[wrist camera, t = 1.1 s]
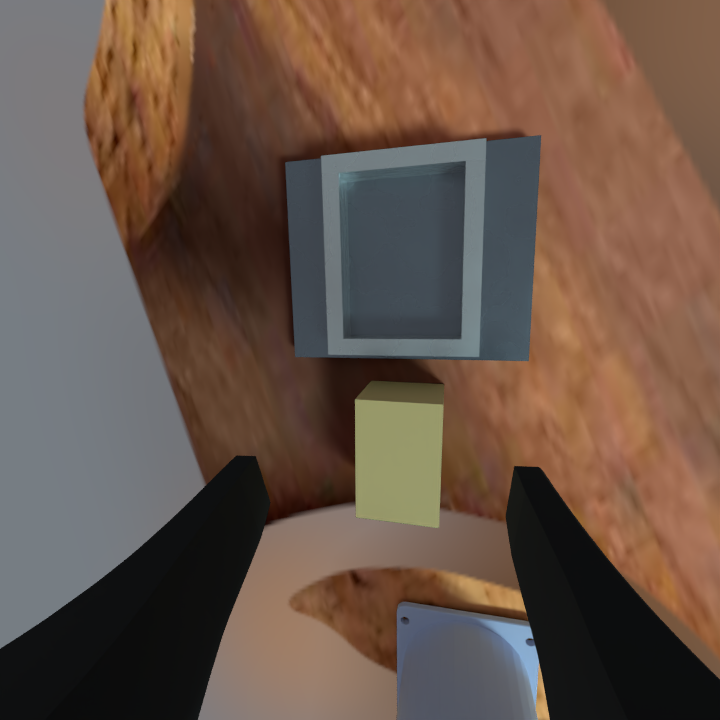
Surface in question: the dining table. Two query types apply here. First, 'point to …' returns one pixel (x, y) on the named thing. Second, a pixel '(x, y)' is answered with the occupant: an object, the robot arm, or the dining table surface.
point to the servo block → (399, 452)
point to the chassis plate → (415, 251)
